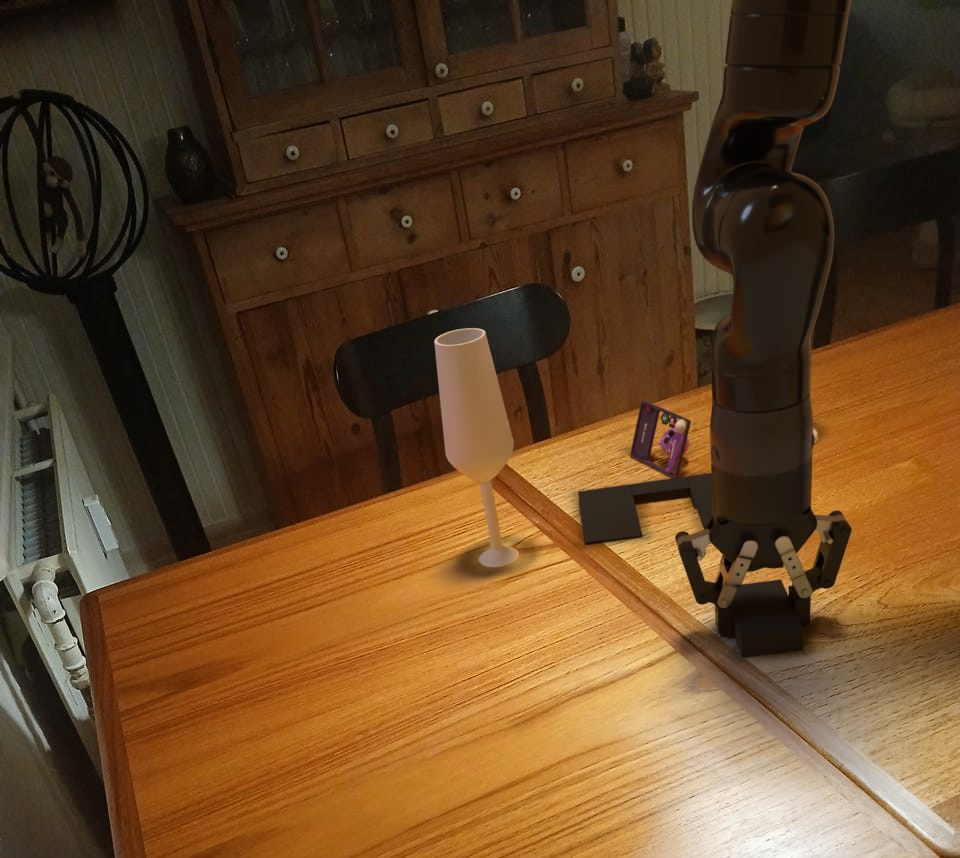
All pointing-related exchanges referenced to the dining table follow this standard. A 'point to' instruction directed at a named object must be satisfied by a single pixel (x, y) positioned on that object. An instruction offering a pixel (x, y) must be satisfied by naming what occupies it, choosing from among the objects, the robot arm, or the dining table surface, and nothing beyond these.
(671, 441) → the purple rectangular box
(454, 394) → the champagne flute
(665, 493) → the notched mat
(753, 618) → the small pad
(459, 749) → the dining table surface
